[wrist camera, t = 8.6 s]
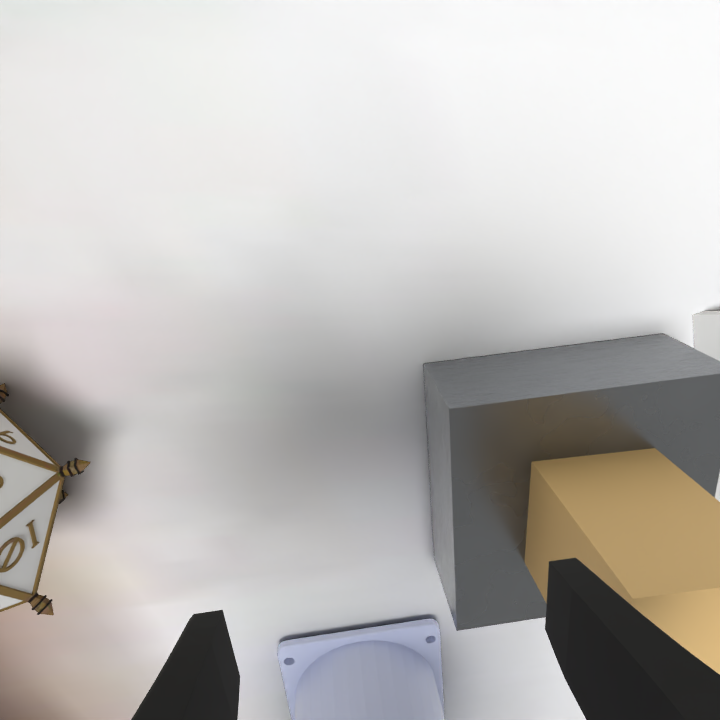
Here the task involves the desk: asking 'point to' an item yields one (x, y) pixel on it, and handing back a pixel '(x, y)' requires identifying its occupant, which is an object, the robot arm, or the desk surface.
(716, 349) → the grey v-shaped trough
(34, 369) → the desk surface
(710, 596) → the ochre block
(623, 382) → the charcoal stand
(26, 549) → the game die
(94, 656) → the desk surface
